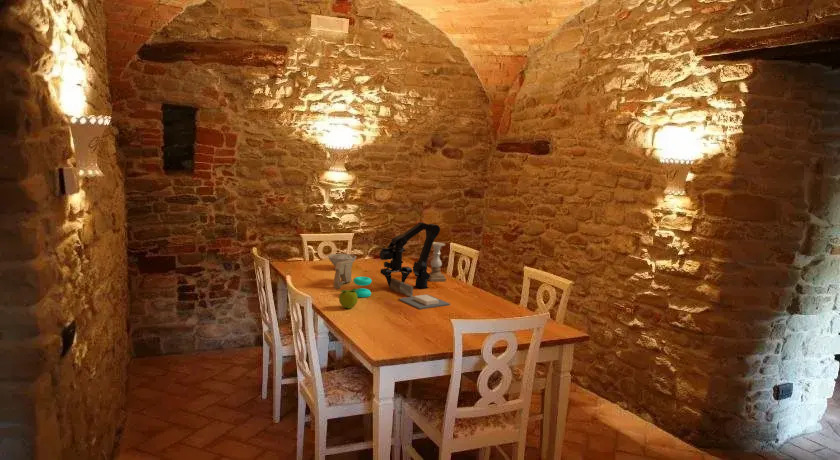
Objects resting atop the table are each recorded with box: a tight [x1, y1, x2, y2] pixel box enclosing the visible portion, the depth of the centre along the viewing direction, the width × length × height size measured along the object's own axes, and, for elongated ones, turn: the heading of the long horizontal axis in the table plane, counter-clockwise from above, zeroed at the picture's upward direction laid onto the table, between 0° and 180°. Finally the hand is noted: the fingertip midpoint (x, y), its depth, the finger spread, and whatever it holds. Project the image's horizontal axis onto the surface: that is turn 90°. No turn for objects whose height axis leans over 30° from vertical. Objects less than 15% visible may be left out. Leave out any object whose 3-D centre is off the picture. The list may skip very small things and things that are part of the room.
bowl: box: [327, 253, 357, 267], centre depth 359 cm, size 19×19×10 cm
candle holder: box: [427, 241, 447, 283], centre depth 342 cm, size 11×11×24 cm
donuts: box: [353, 276, 373, 298], centre depth 293 cm, size 10×10×10 cm
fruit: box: [338, 288, 359, 310], centre depth 269 cm, size 9×9×10 cm
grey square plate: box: [398, 294, 451, 310], centre depth 287 cm, size 20×20×1 cm
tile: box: [413, 294, 439, 305], centre depth 285 cm, size 8×2×12 cm
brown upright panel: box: [388, 277, 414, 297], centre depth 305 cm, size 2×22×6 cm, turn 35°
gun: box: [333, 260, 354, 290], centre depth 316 cm, size 24×3×15 cm, turn 168°
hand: (395, 285), depth 310 cm, fingers open, 9 cm apart
